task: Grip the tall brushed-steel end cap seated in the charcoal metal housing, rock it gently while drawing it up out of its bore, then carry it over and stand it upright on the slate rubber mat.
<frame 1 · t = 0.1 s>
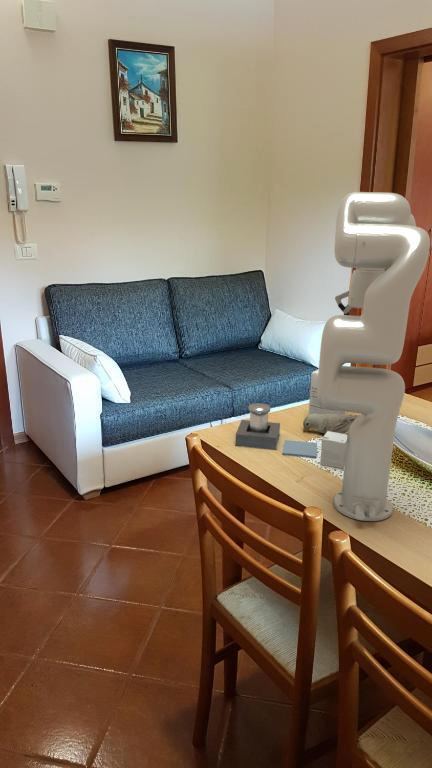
hand: (364, 328, 157), 31 cm above the table, tool pointing down, fingers open, 9 cm apart
pipe connector: (372, 460, 147), on the table
mat: (300, 449, 153), on the table
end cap: (257, 440, 158), resting in housing
housing: (257, 439, 158), on the table
decorative bird: (329, 436, 163), on the table
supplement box: (326, 417, 178), on the table
skincare box: (333, 463, 145), on the table
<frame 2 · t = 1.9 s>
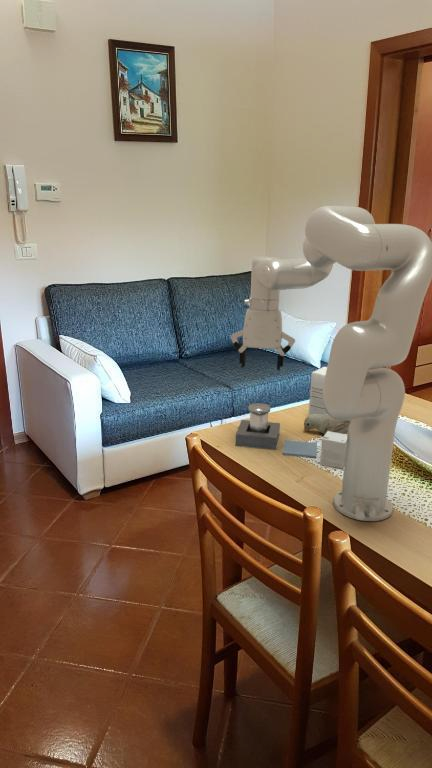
hand: (260, 367, 152), 21 cm above the table, tool pointing down, fingers open, 9 cm apart
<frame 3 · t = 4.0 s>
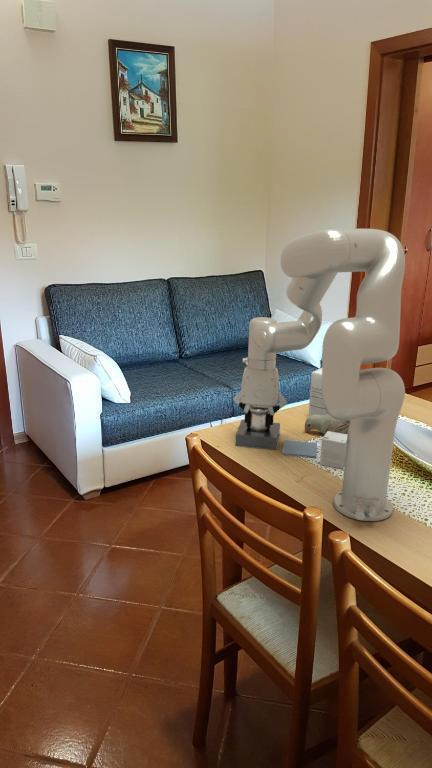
hand: (258, 425, 157), 4 cm above the table, tool pointing down, fingers closed on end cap, 5 cm apart
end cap: (257, 440, 158), resting in housing, touching gripper
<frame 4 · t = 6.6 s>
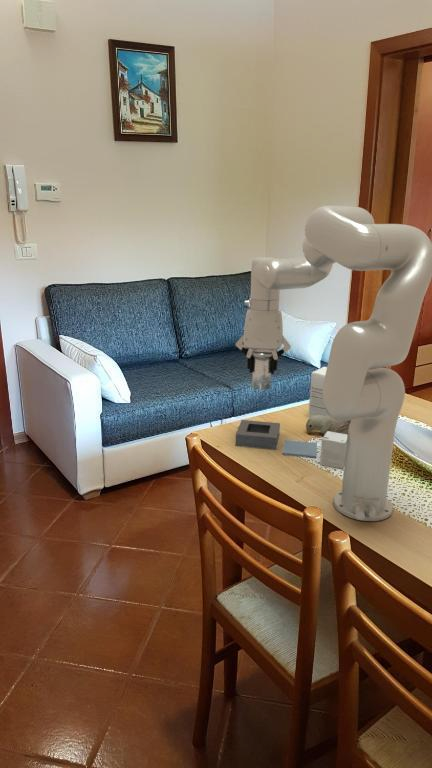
hand: (262, 371, 152), 20 cm above the table, tool pointing down, fingers closed on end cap, 5 cm apart
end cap: (261, 387, 153), point 16 cm above the table, touching gripper
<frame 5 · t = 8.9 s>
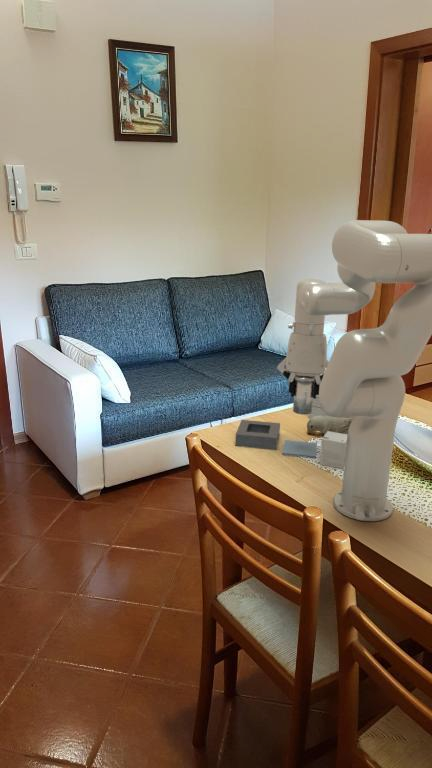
hand: (303, 395, 148), 15 cm above the table, tool pointing down, fingers closed on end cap, 5 cm apart
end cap: (302, 411, 150), point 11 cm above the table, touching gripper
when the fingers open (6 cm above the table, at t = 10.9 s): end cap drops 1 cm, resting on mat.
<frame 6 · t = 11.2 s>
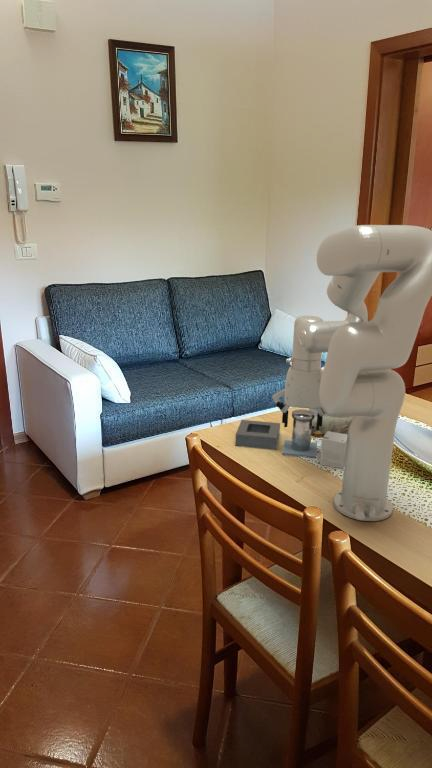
hand: (301, 426, 151), 7 cm above the table, tool pointing down, fingers open, 8 cm apart
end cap: (300, 447, 152), point 1 cm above the table, touching mat
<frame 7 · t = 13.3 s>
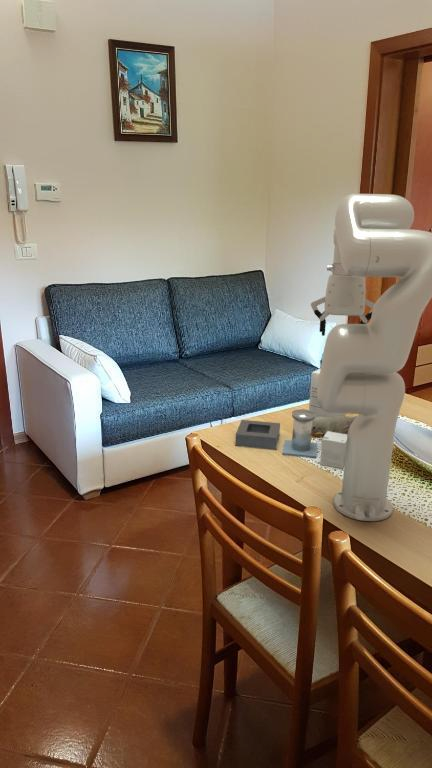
hand: (341, 335, 149), 31 cm above the table, tool pointing down, fingers open, 9 cm apart
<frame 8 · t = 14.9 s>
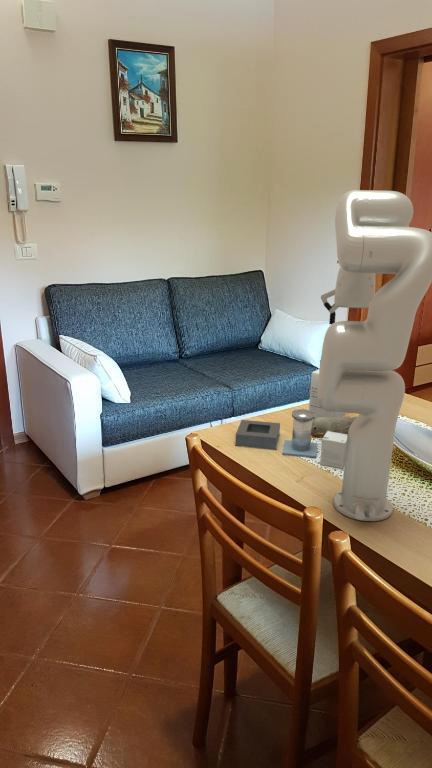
hand: (351, 328, 150), 32 cm above the table, tool pointing down, fingers open, 9 cm apart
at the end: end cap 0.2 cm off-centre on the mat, point 0.6 cm above the mat's base; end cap tilted 1°; the gripper is holding nothing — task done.
